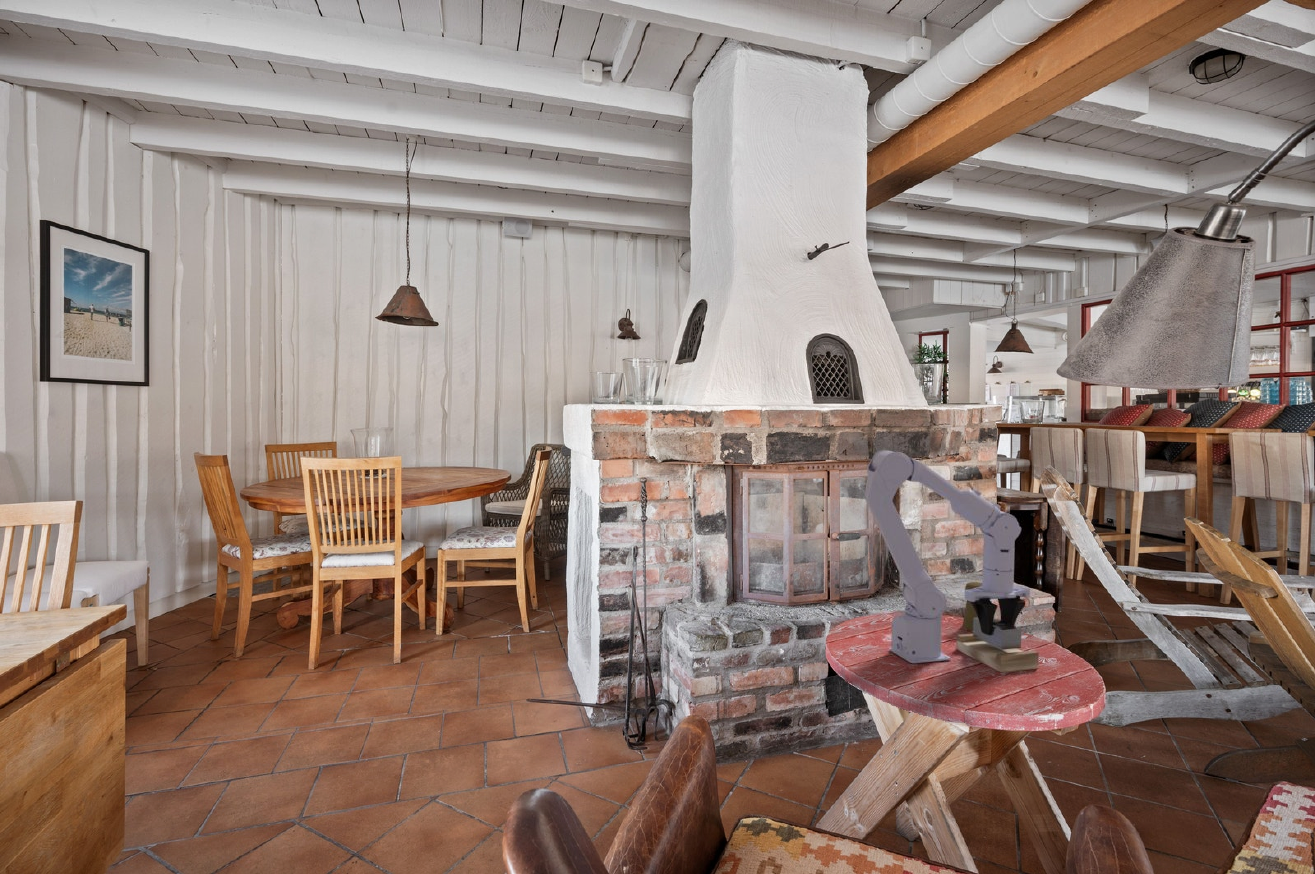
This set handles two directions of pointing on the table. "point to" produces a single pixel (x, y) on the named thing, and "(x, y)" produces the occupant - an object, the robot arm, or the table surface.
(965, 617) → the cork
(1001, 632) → the housing
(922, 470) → the robot arm
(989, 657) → the stand
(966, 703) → the table surface
